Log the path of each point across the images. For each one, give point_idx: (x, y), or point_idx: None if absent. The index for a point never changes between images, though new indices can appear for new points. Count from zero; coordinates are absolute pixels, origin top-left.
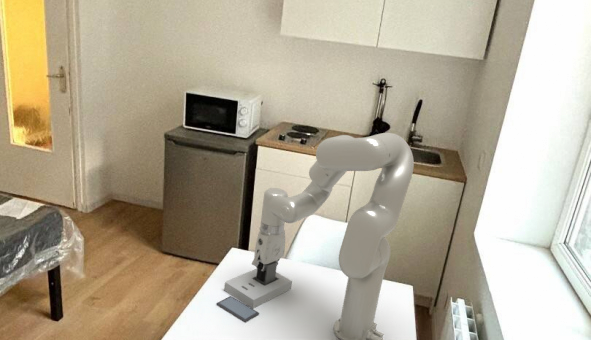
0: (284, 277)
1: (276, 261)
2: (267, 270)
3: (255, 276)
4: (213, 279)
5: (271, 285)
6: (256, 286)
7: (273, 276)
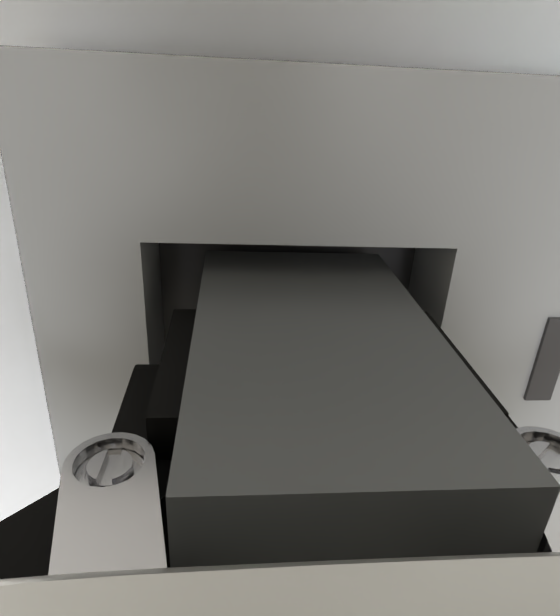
0: (29, 218)
1: (122, 525)
2: (489, 400)
3: None
4: None
5: (379, 191)
6: (541, 302)
7: (247, 299)
